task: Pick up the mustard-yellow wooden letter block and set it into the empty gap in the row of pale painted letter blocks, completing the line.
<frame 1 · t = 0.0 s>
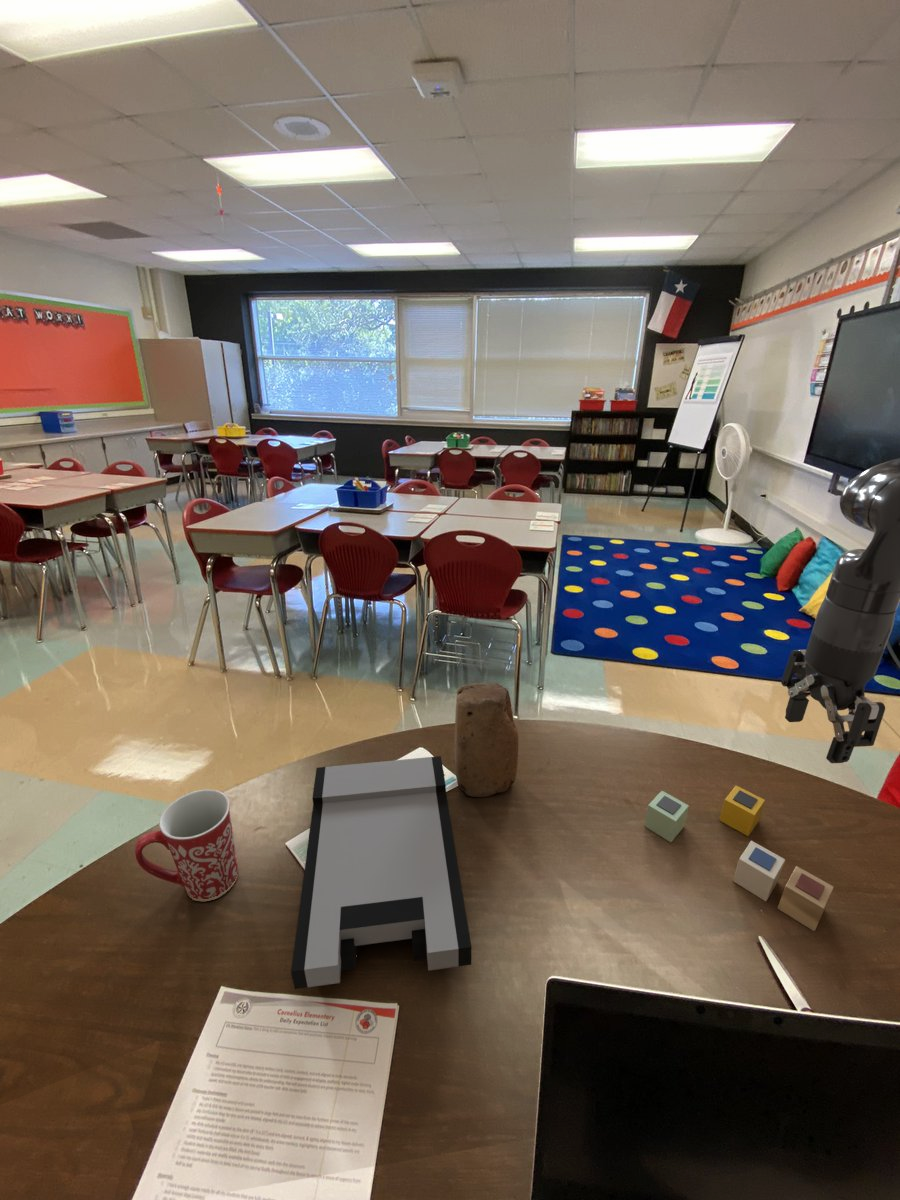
hand: (812, 739, 73), 23 cm above the table, tool pointing down, fingers open, 8 cm apart
block b: (754, 881, 79), on the table
block: (484, 784, 97), on the table
mug: (200, 885, 79), on the table
block a: (800, 909, 75), on the table
block c: (664, 826, 88), on the table
grey notched sloped slab: (384, 880, 80), on the table
yellow block: (738, 820, 89), on the table
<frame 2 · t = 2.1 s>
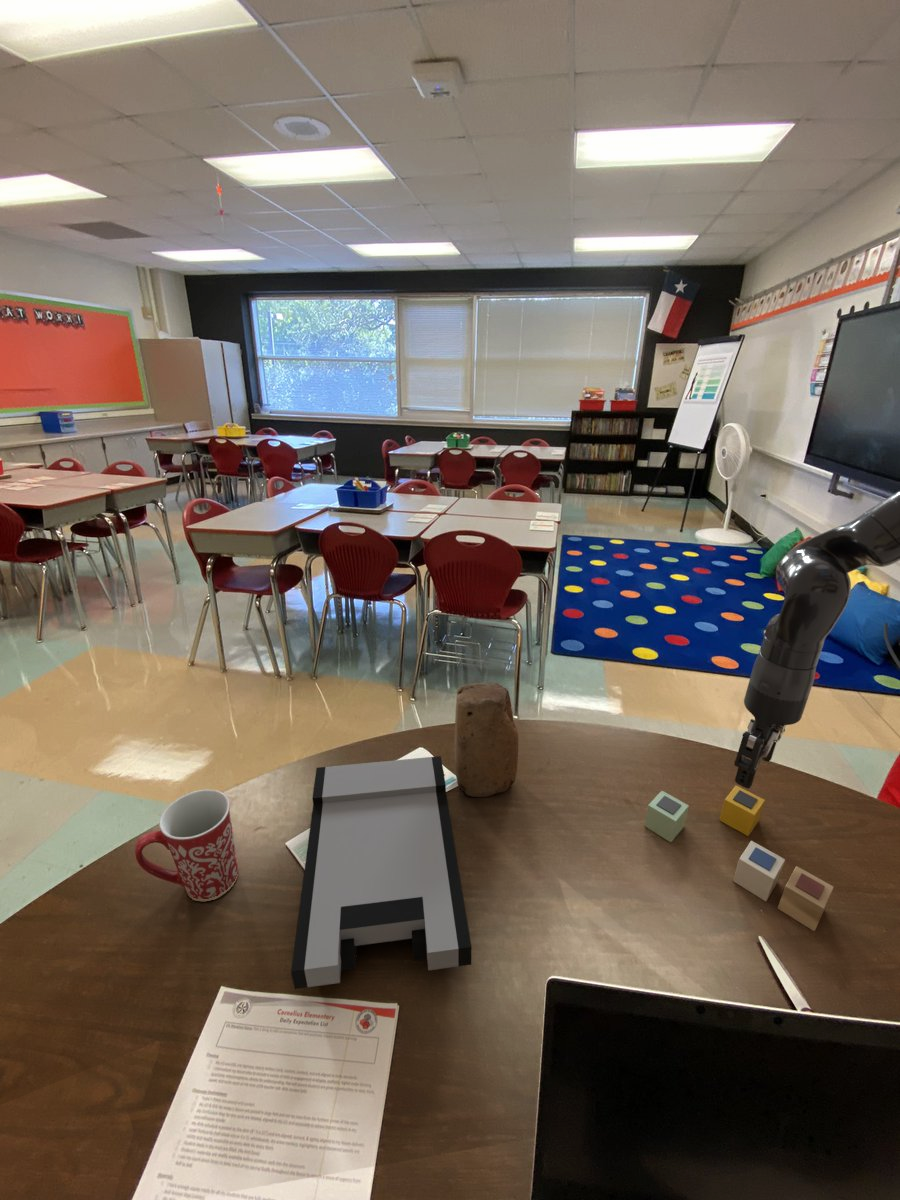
hand: (753, 771, 85), 11 cm above the table, tool pointing down, fingers open, 8 cm apart
nothing on the table moved.
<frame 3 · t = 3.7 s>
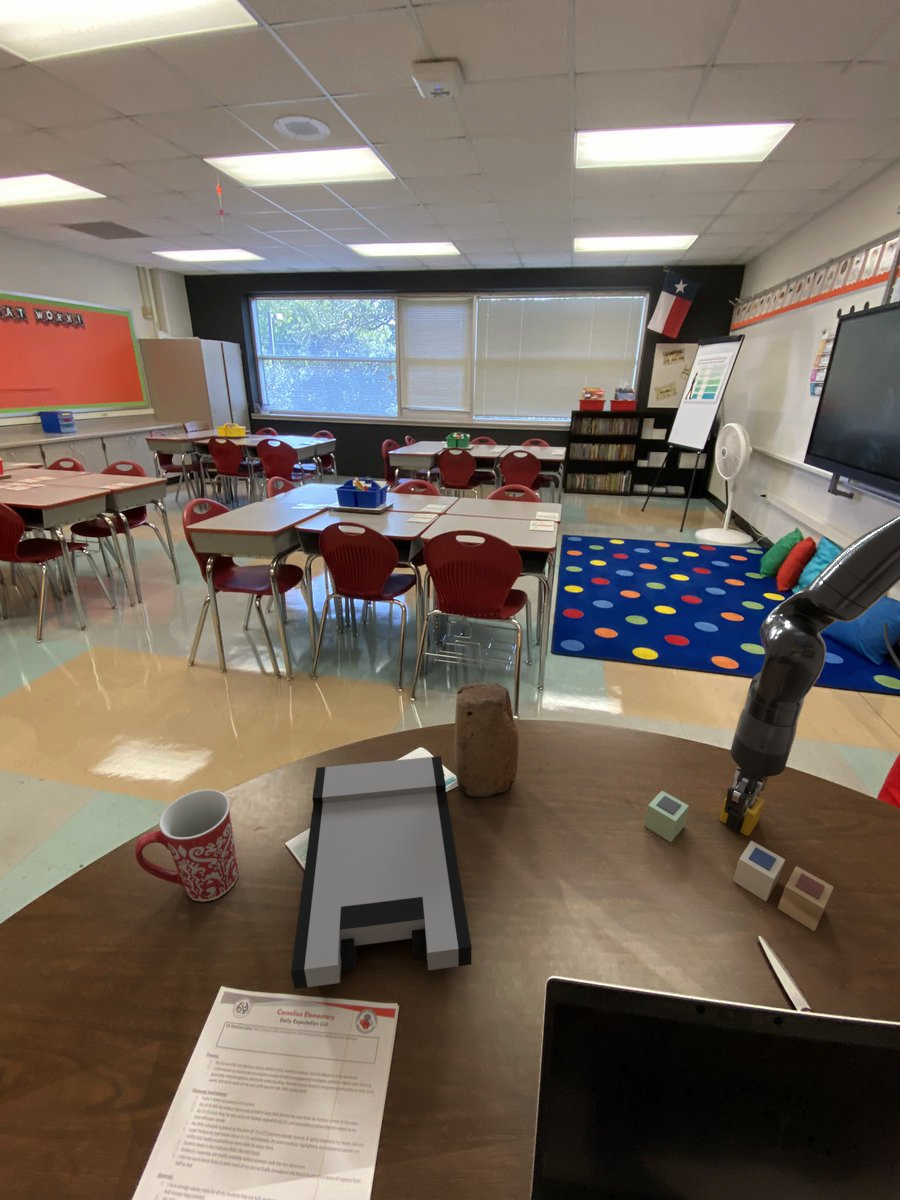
hand: (739, 819, 89), 0 cm above the table, tool pointing down, fingers closed on yellow block, 4 cm apart
yellow block: (738, 820, 89), on the table, touching gripper
everything else where it was.
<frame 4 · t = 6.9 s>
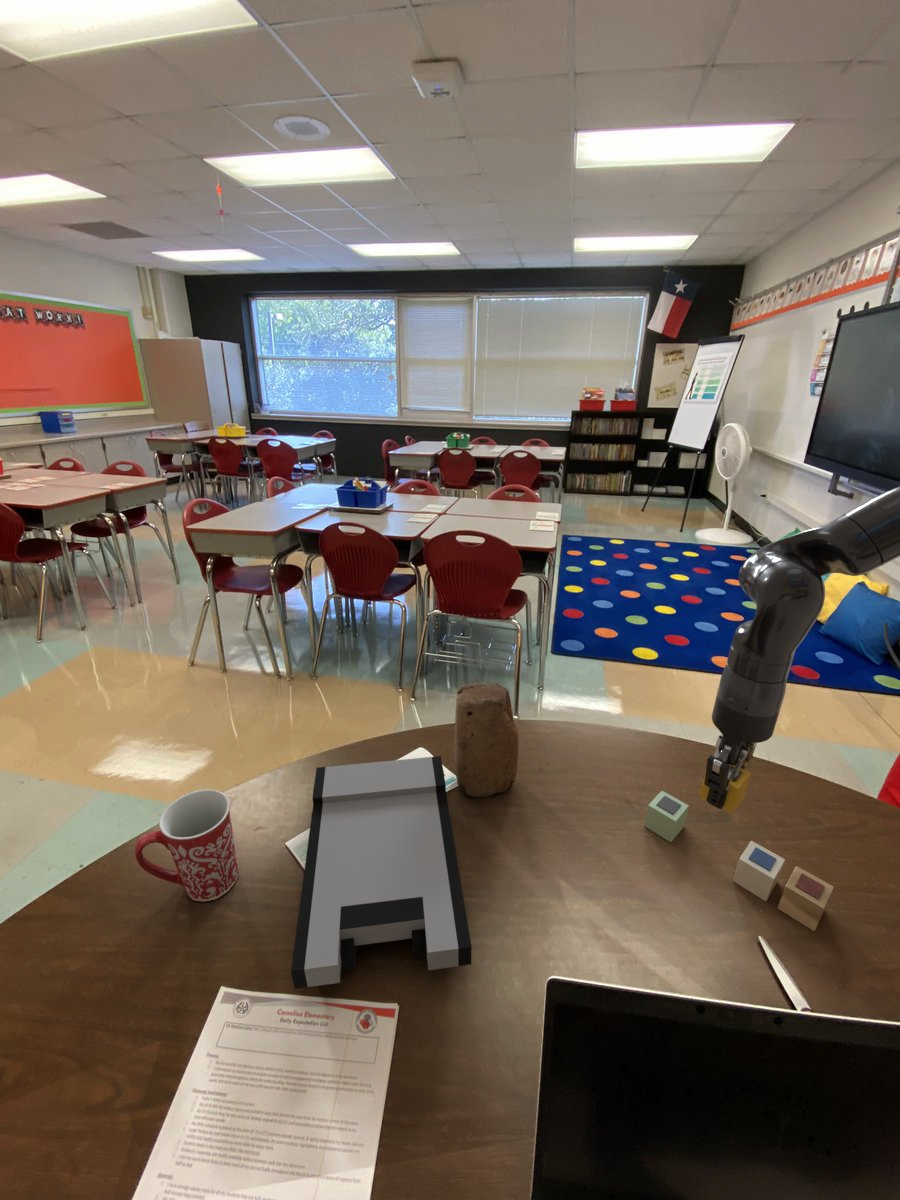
hand: (722, 794, 79), 12 cm above the table, tool pointing down, fingers closed on yellow block, 4 cm apart
yellow block: (721, 796, 79), point 11 cm above the table, touching gripper
everything else where it was.
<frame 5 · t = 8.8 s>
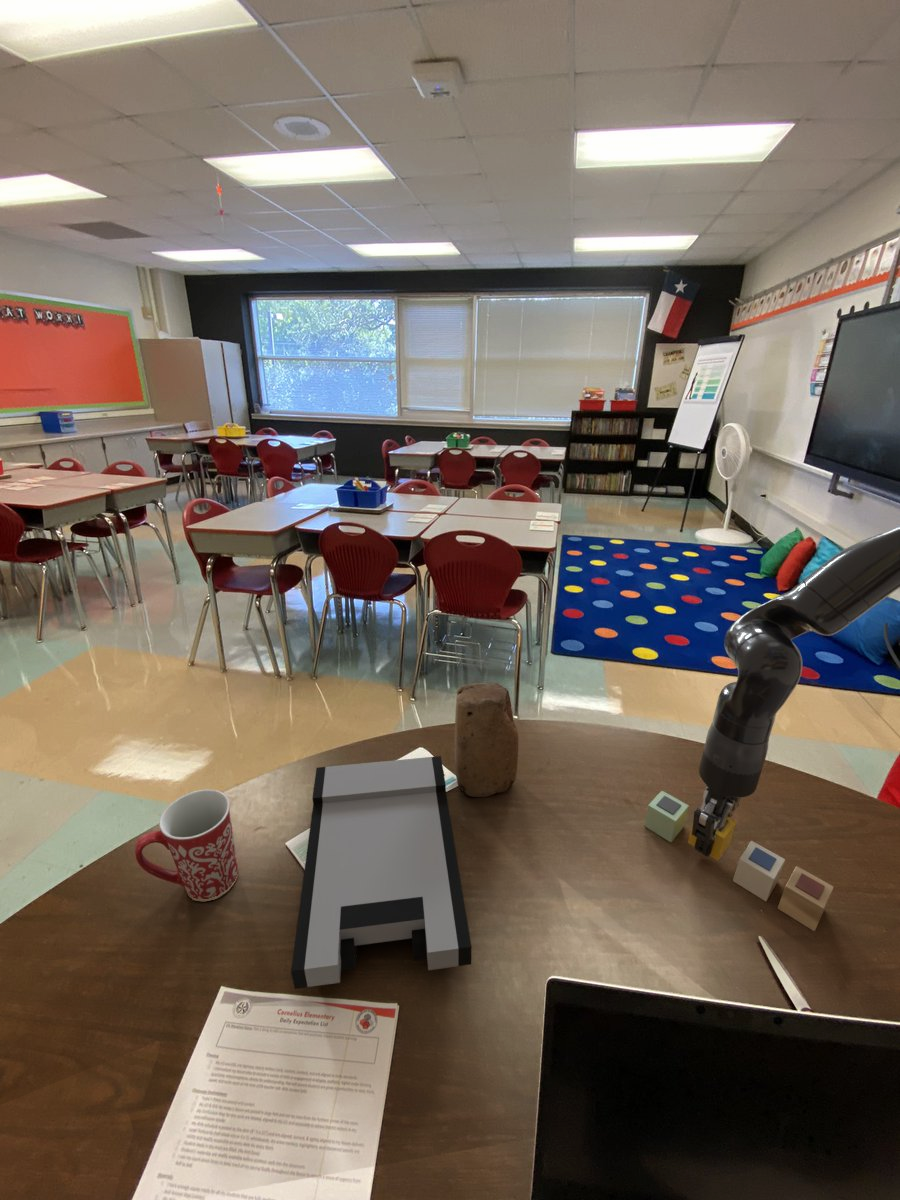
hand: (709, 841, 83), 2 cm above the table, tool pointing down, fingers closed on yellow block, 4 cm apart
yellow block: (708, 843, 83), point 2 cm above the table, touching gripper
everything else where it was.
when the fingers open (0 cm above the table, at t = 9.9 s): yellow block stays where it is, on the table.
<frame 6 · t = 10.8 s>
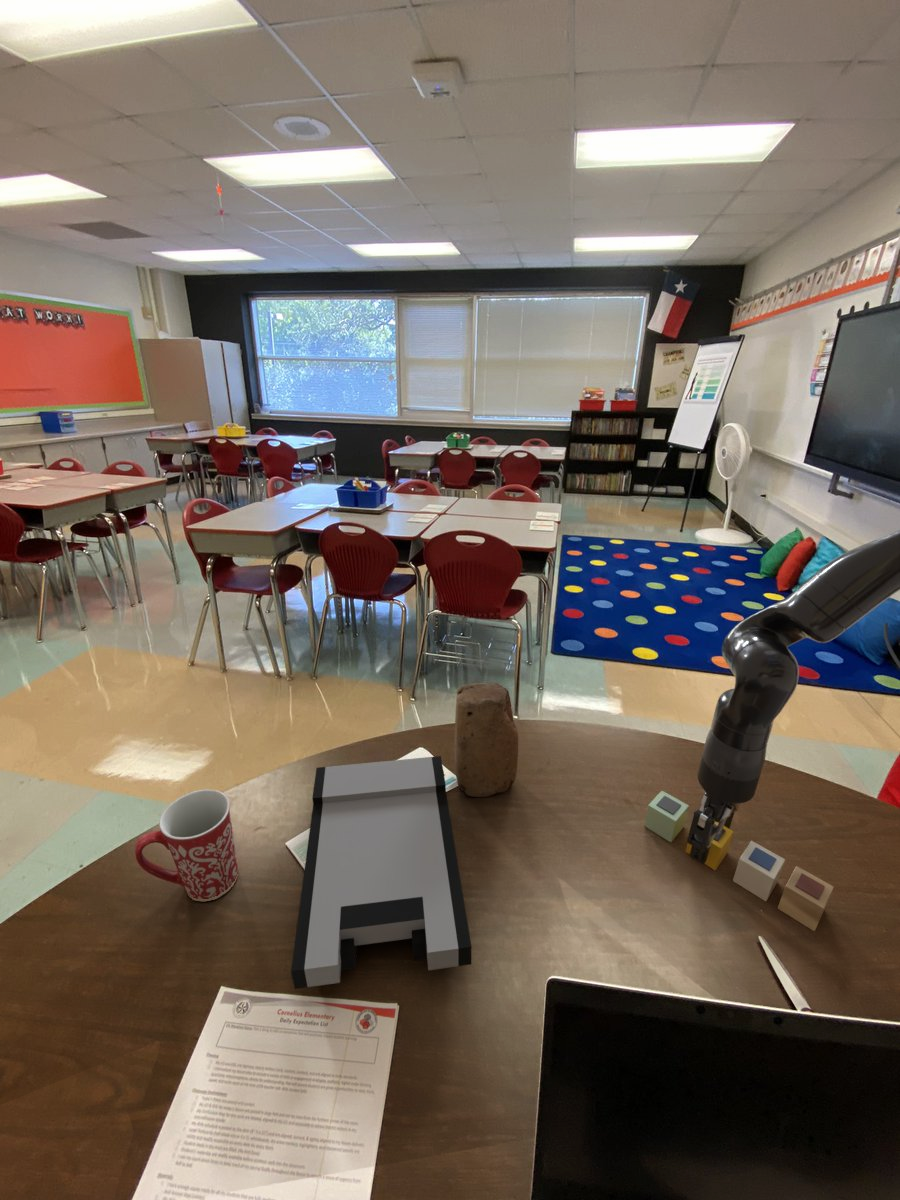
hand: (709, 842, 83), 2 cm above the table, tool pointing down, fingers open, 8 cm apart
yellow block: (706, 852, 84), on the table
everything else where it was.
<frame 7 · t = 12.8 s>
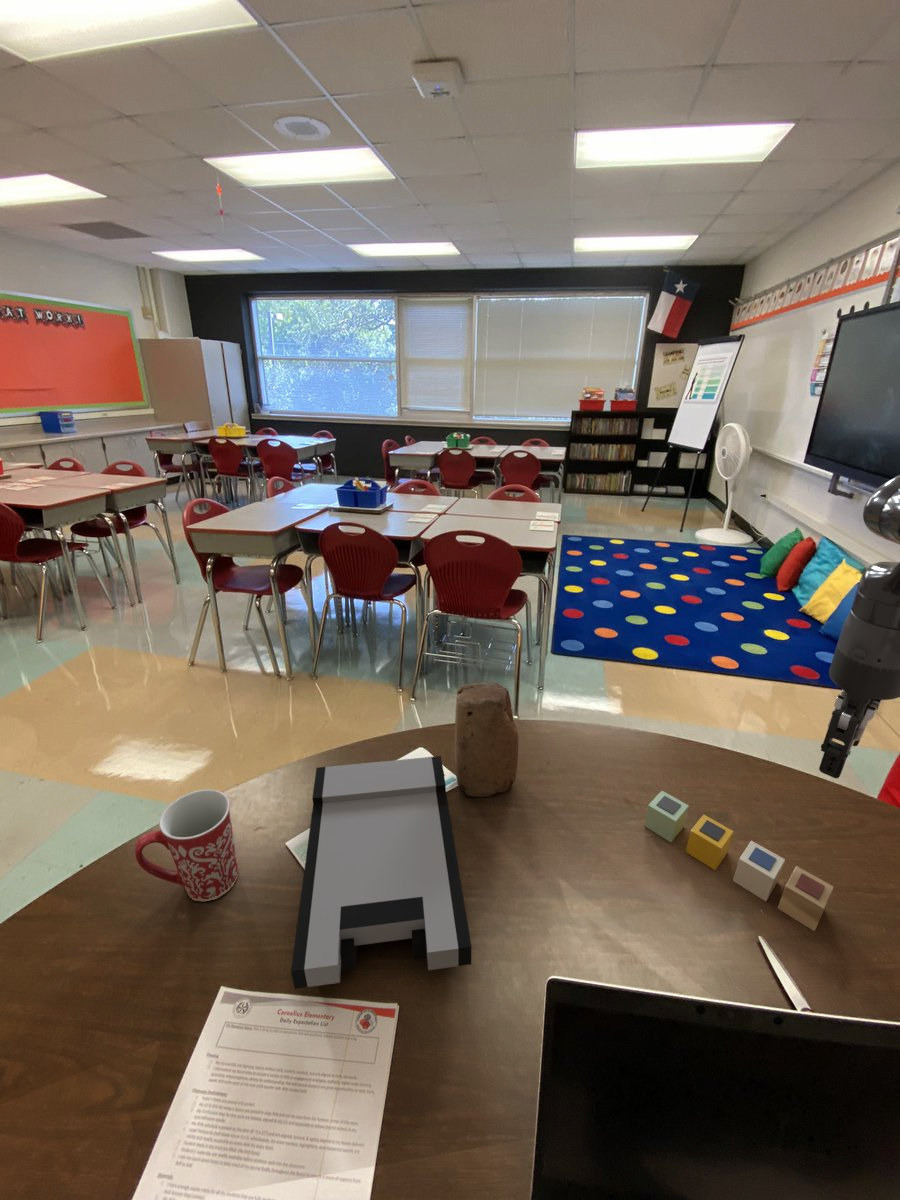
hand: (838, 757, 71), 22 cm above the table, tool pointing down, fingers open, 8 cm apart
nothing on the table moved.
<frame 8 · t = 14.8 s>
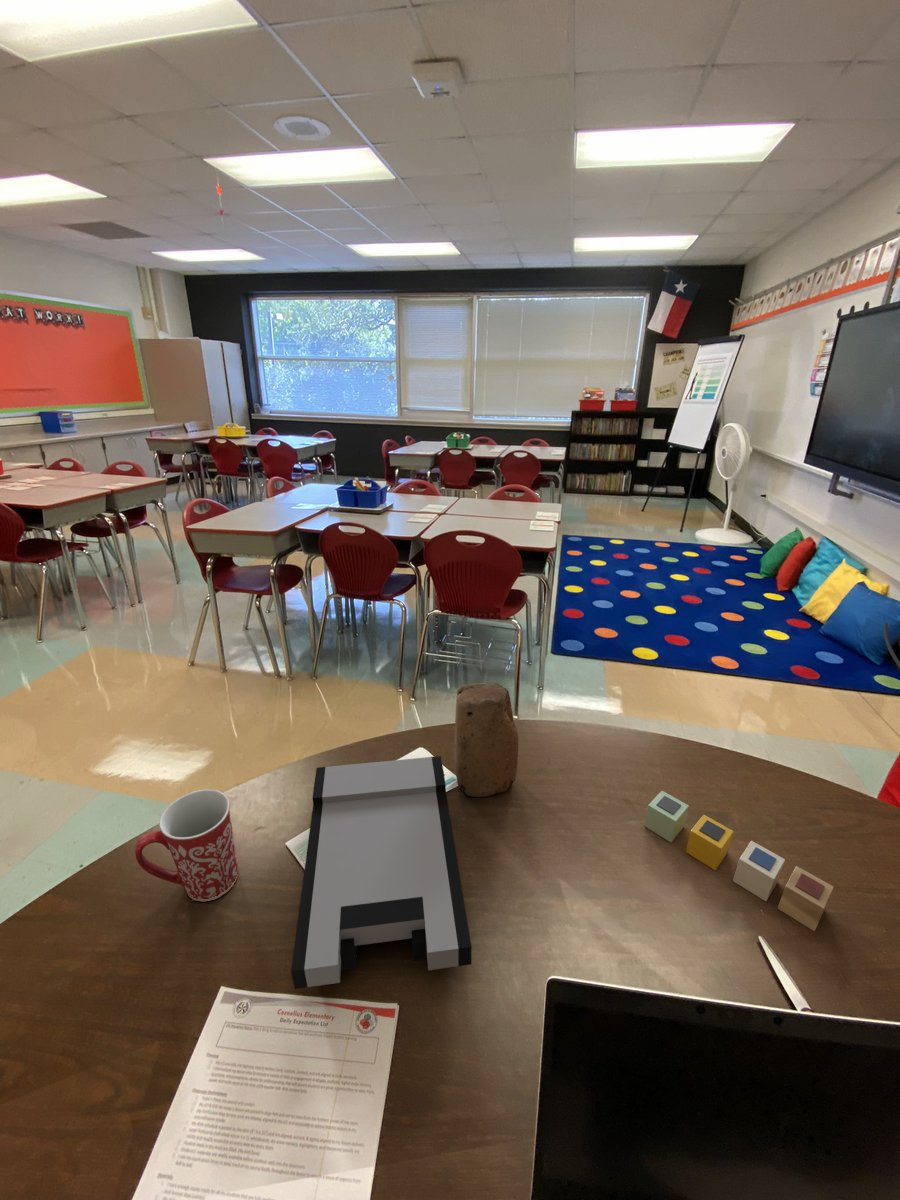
nothing on the table moved.
at the end: yellow block 0.1 cm from the target spot, on the table; yellow block tilted 0°; block c moved 0.0 cm from its start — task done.
